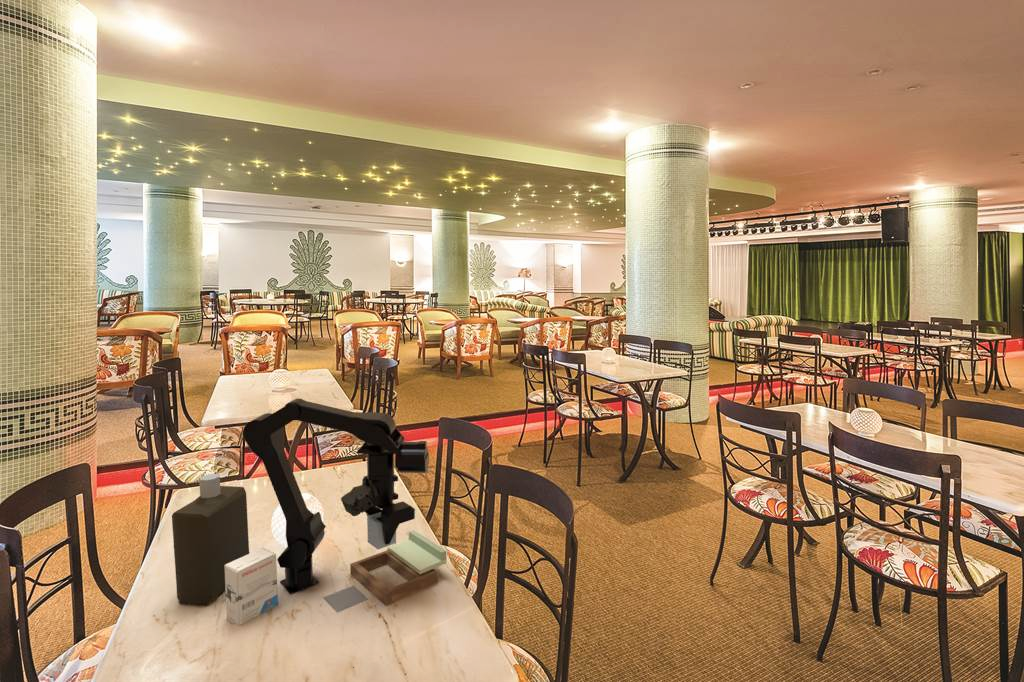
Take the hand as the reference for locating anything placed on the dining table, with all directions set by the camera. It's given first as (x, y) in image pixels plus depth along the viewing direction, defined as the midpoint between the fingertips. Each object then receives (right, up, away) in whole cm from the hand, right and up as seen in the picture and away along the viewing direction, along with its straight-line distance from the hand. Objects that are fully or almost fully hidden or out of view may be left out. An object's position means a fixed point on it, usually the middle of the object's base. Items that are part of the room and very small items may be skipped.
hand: (381, 539), depth 120 cm
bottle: (-37, -10, 0) cm, 39 cm away
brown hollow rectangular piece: (+2, -10, +3) cm, 11 cm away
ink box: (-24, -12, -9) cm, 28 cm away
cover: (+7, -6, +7) cm, 11 cm away
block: (0, -1, 0) cm, 1 cm away
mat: (-7, -11, -5) cm, 14 cm away
